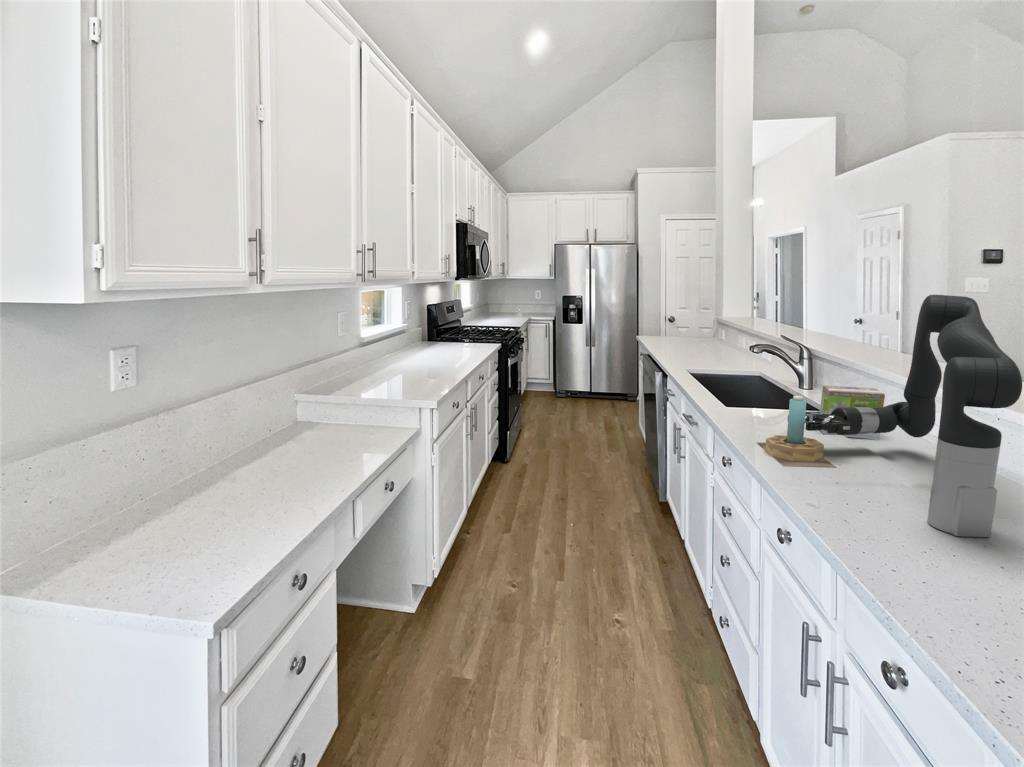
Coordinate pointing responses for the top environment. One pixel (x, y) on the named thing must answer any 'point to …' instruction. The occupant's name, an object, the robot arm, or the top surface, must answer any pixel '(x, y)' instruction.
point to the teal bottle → (796, 420)
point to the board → (787, 463)
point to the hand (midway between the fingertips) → (797, 422)
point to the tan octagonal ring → (794, 449)
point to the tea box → (851, 402)
